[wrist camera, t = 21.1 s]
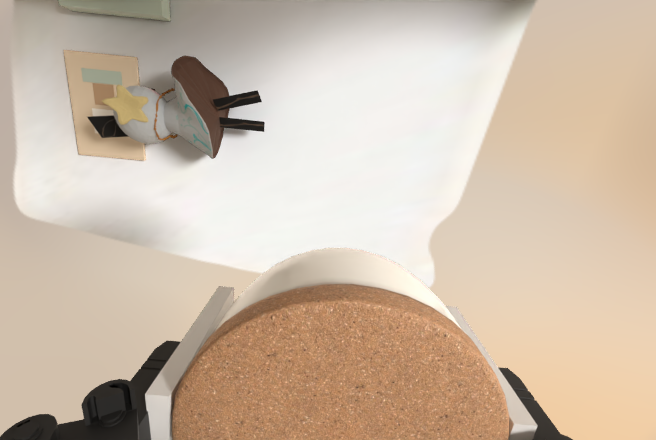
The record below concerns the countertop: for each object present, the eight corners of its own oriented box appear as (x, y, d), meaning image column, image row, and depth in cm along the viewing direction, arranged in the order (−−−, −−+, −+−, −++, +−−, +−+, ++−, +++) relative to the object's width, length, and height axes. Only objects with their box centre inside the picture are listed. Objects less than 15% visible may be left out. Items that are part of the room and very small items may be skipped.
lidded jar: (469, 260, 16) (641, 431, 7) (383, 405, 19) (427, 653, 10) (276, 184, 15) (193, 274, 6) (217, 351, 18) (103, 575, 9)
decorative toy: (264, 49, 36) (72, 28, 33) (262, 97, 30) (27, 78, 27) (265, 130, 45) (115, 121, 42) (264, 179, 39) (88, 173, 36)
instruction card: (137, 57, 39) (135, 56, 39) (145, 160, 43) (143, 160, 43) (66, 50, 39) (62, 49, 39) (81, 154, 43) (78, 154, 43)
